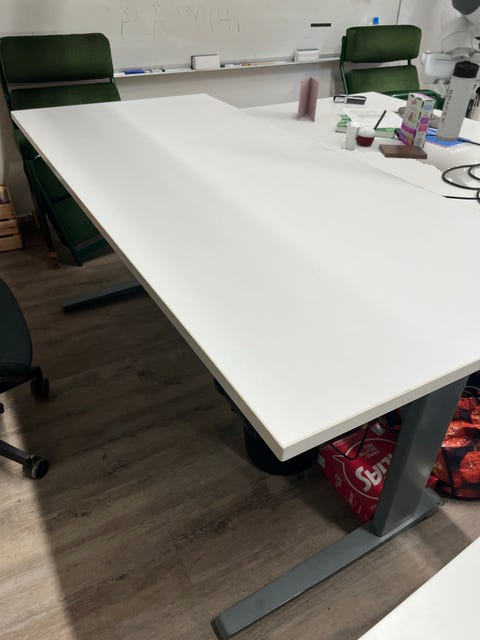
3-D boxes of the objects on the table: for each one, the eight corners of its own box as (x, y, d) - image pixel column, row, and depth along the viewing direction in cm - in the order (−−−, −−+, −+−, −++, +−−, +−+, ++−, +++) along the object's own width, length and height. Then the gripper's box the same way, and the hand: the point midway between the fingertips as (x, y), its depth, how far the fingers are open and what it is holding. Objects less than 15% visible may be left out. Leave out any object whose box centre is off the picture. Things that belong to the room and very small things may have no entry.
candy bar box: (424, 149, 169) (437, 100, 159) (411, 150, 168) (423, 100, 158) (409, 139, 178) (421, 92, 168) (397, 140, 177) (408, 92, 167)
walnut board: (417, 150, 168) (419, 145, 167) (426, 159, 160) (427, 154, 159) (378, 148, 168) (379, 144, 167) (385, 157, 160) (386, 153, 159)
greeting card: (304, 115, 201) (308, 76, 192) (321, 118, 199) (326, 78, 190) (294, 122, 193) (298, 81, 184) (312, 125, 190) (317, 84, 181)
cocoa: (350, 146, 169) (356, 110, 162) (353, 141, 174) (360, 106, 167) (377, 150, 167) (384, 113, 159) (380, 145, 171) (387, 109, 164)
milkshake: (338, 149, 165) (343, 119, 159) (348, 146, 168) (353, 116, 162) (349, 153, 163) (355, 122, 157) (358, 150, 166) (364, 119, 160)
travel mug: (456, 136, 142) (479, 61, 130) (458, 143, 137) (481, 65, 125) (434, 134, 143) (454, 59, 131) (435, 140, 138) (456, 63, 126)
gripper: (425, 42, 132) (425, 88, 130) (499, 46, 132) (500, 92, 130) (416, 58, 138) (416, 102, 136) (487, 61, 138) (488, 105, 136)
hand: (458, 97), depth 133 cm, fingers closed on travel mug, 6 cm apart
